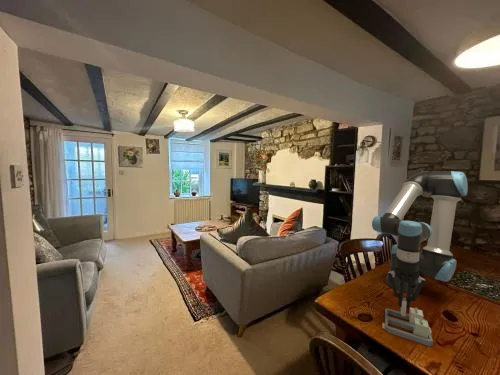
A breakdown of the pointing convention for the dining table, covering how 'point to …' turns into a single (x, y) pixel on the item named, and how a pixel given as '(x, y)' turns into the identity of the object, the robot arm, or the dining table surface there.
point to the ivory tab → (415, 314)
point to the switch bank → (404, 325)
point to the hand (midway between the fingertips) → (403, 314)
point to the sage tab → (420, 328)
